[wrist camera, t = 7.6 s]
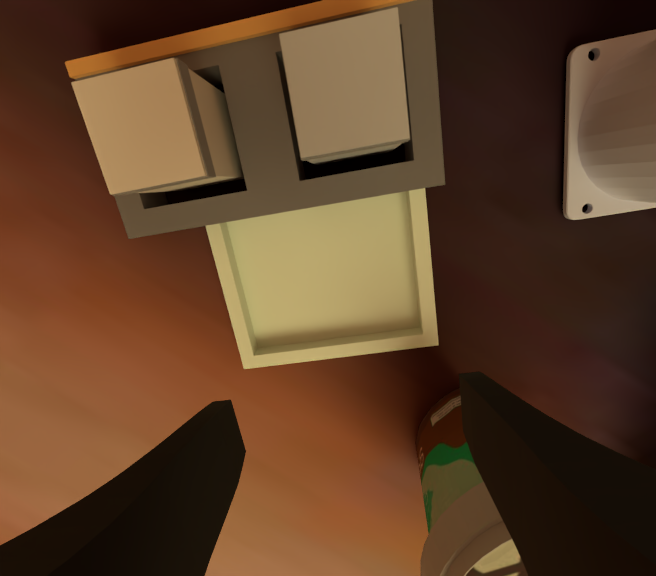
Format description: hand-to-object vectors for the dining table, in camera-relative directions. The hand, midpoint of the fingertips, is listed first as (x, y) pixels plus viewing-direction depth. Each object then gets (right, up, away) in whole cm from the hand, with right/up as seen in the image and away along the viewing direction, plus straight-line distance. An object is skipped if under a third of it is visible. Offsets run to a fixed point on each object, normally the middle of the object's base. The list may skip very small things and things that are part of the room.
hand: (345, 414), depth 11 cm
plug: (-7, +12, +8) cm, 16 cm away
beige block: (+1, +13, +7) cm, 15 cm away
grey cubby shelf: (-3, +12, +7) cm, 15 cm away
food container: (+8, -7, +13) cm, 17 cm away
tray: (-1, +5, +9) cm, 11 cm away
